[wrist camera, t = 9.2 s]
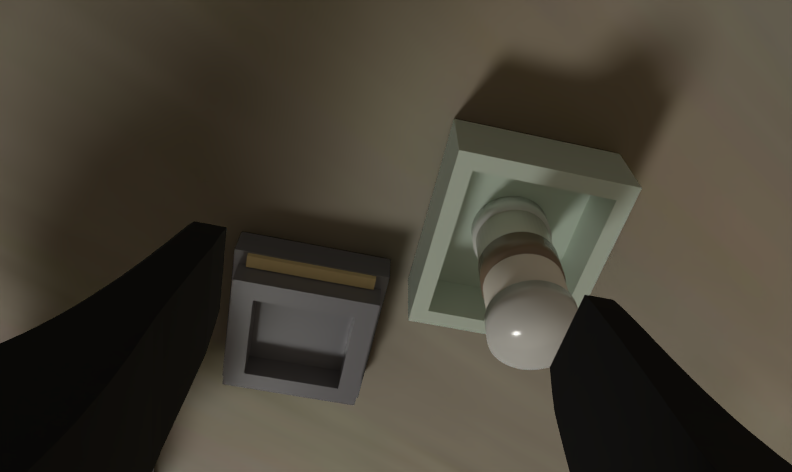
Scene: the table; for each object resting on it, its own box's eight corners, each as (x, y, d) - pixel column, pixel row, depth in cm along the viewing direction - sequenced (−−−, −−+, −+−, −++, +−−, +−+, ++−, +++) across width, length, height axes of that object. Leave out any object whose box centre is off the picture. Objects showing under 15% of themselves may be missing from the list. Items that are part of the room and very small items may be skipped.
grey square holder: (359, 377, 28) (356, 415, 26) (229, 355, 28) (216, 393, 26) (390, 259, 25) (389, 293, 23) (242, 231, 24) (228, 265, 22)
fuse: (530, 267, 24) (560, 378, 19) (461, 250, 24) (473, 358, 19) (559, 206, 23) (600, 309, 18) (486, 187, 22) (506, 287, 17)
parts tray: (551, 305, 26) (563, 347, 24) (408, 279, 25) (408, 320, 23) (619, 153, 22) (642, 188, 20) (454, 118, 21) (459, 150, 19)
